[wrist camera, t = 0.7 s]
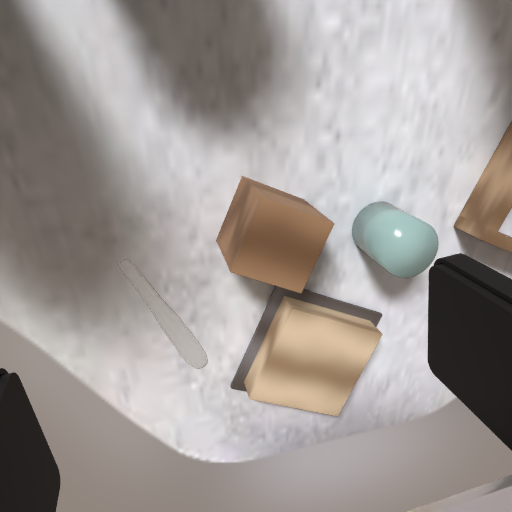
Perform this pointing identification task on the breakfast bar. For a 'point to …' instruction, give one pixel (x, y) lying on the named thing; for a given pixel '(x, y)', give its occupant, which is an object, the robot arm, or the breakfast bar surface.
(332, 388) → the plinth
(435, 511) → the robot arm
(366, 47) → the breakfast bar surface
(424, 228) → the teal capsule
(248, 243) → the walnut block
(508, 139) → the mug tray
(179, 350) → the butter knife
